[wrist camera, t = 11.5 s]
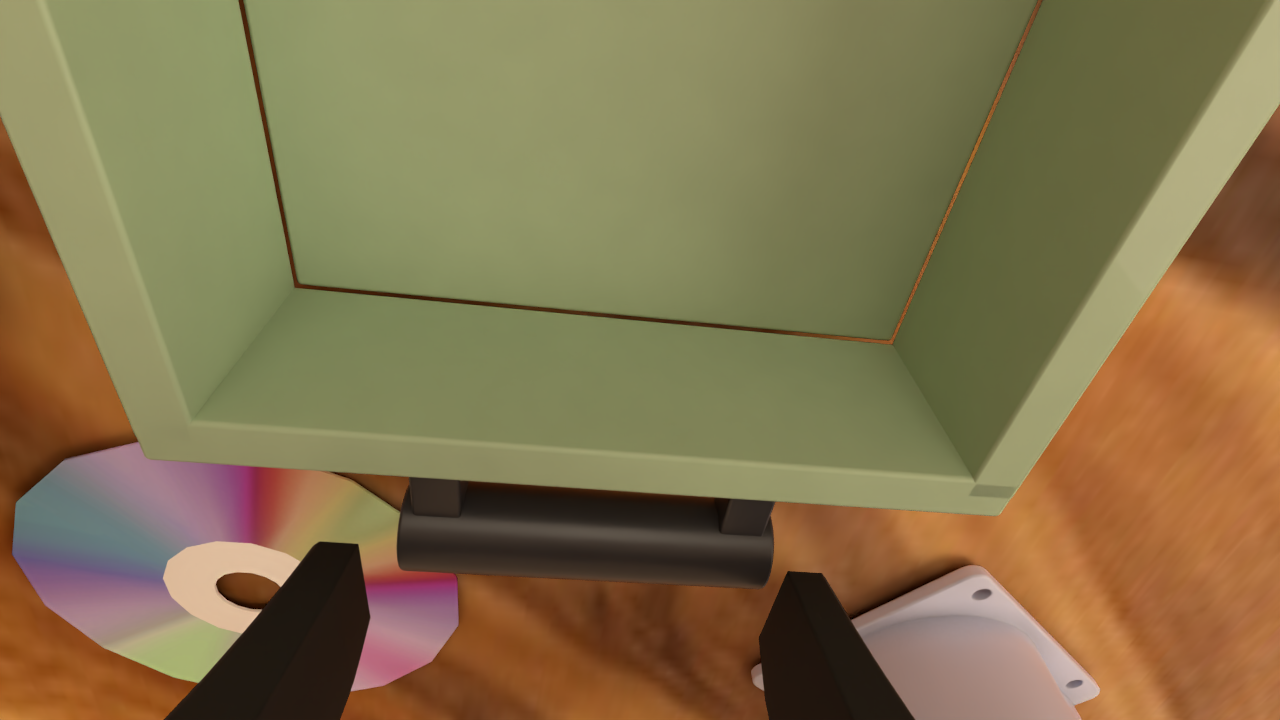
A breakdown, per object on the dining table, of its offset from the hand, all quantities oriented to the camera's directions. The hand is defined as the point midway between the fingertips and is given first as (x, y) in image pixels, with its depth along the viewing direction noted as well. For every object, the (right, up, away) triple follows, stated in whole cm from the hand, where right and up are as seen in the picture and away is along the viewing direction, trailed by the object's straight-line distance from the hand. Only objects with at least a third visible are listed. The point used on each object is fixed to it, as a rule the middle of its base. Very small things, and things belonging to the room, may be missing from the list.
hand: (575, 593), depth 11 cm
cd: (-9, -2, +7) cm, 12 cm away
